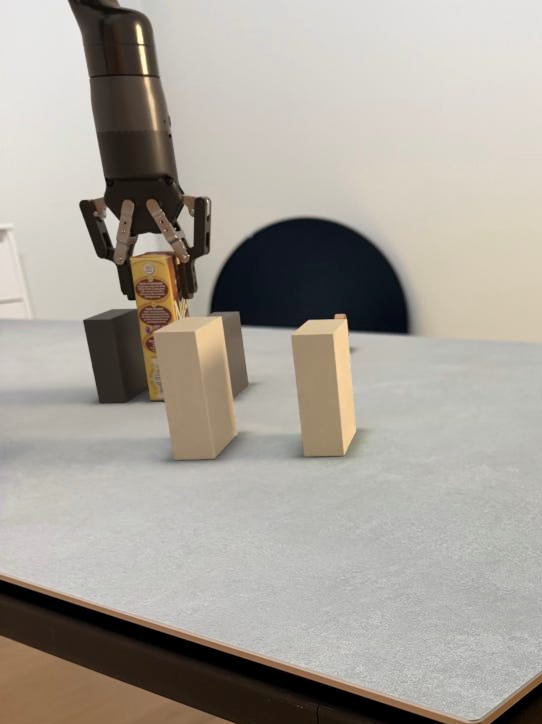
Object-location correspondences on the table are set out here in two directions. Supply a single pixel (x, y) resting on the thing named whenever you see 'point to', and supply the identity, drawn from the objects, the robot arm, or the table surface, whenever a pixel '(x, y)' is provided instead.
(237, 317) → the grey rectangular blocks
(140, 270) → the candy box
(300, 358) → the beige blocks
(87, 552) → the table surface
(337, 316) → the perforated watch strap
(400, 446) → the table surface
